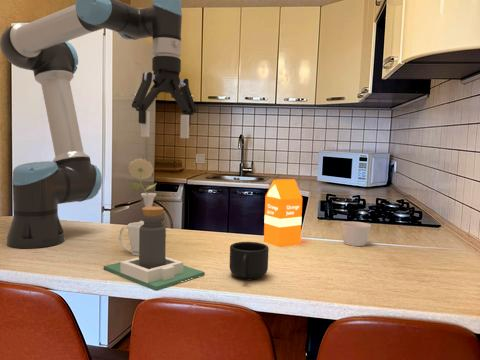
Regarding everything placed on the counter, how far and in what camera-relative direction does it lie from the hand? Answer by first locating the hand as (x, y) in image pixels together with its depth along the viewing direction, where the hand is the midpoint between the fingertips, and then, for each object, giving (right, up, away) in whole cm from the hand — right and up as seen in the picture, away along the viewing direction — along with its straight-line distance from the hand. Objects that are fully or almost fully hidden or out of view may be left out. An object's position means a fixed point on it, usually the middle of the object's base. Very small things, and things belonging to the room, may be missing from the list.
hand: (165, 137), depth 113 cm
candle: (+57, -32, +20) cm, 68 cm away
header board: (0, -33, -15) cm, 36 cm away
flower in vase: (-10, -30, +21) cm, 38 cm away
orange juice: (+33, -31, +18) cm, 49 cm away
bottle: (0, -33, -17) cm, 37 cm away
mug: (+22, -34, -16) cm, 44 cm away
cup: (-9, -32, +2) cm, 33 cm away
